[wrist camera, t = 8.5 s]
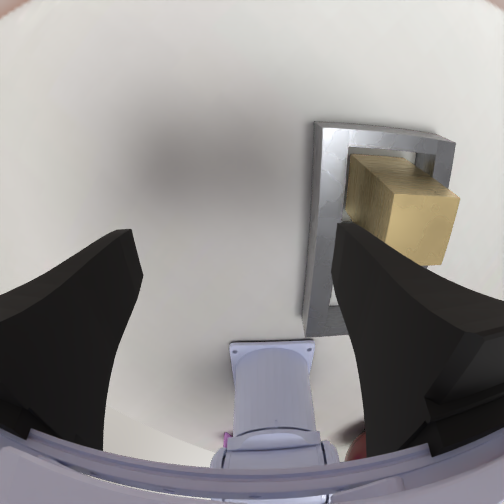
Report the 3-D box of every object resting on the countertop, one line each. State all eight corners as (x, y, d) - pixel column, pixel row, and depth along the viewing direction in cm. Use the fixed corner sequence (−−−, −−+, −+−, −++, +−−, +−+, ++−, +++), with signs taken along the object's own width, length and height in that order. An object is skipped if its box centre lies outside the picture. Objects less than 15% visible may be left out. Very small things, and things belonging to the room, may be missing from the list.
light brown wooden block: (395, 210, 20) (441, 264, 14) (345, 209, 20) (379, 267, 14) (403, 157, 18) (460, 198, 12) (350, 153, 18) (394, 193, 12)
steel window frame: (395, 309, 25) (404, 328, 23) (301, 316, 26) (305, 337, 24) (436, 134, 17) (455, 142, 15) (314, 121, 17) (322, 127, 15)
